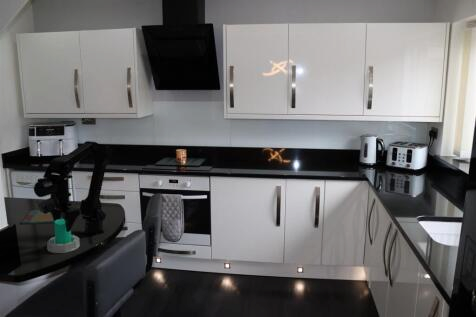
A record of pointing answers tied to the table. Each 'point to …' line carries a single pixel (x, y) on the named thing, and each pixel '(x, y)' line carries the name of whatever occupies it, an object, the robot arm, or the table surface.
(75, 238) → the candle dish
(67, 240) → the candle
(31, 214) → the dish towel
